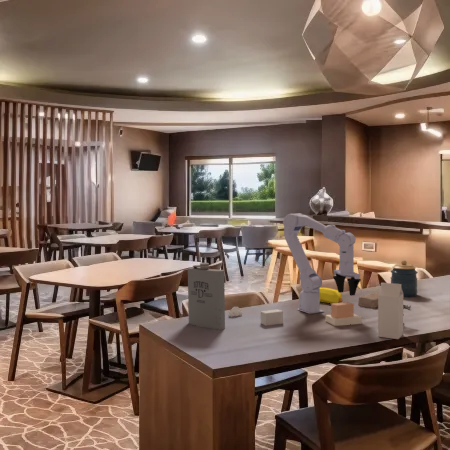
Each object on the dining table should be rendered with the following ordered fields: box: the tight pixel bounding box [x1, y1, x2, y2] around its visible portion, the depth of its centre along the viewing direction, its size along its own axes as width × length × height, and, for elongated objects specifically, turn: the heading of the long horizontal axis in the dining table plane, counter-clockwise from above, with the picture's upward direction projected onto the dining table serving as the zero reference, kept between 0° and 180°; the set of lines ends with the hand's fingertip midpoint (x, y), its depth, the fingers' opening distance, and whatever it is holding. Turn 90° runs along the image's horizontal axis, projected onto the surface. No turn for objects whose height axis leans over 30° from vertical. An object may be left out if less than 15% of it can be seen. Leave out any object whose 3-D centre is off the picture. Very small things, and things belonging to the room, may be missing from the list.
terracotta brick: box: [330, 301, 355, 318], centre depth 200 cm, size 4×8×5 cm, turn 115°
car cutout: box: [228, 306, 243, 318], centre depth 212 cm, size 15×7×4 cm, turn 116°
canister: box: [390, 260, 418, 298], centre depth 255 cm, size 13×13×18 cm
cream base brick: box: [324, 313, 363, 327], centre depth 200 cm, size 8×12×3 cm, turn 105°
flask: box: [187, 262, 226, 330], centre depth 197 cm, size 17×5×25 cm, turn 52°
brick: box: [357, 291, 379, 309], centre depth 234 cm, size 17×8×5 cm, turn 133°
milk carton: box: [377, 282, 404, 340], centre depth 179 cm, size 7×7×19 cm
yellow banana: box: [320, 287, 344, 305], centre depth 240 cm, size 18×7×8 cm
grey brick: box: [260, 308, 284, 327], centre depth 200 cm, size 4×8×5 cm, turn 115°
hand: (346, 293), depth 211 cm, fingers open, 7 cm apart
